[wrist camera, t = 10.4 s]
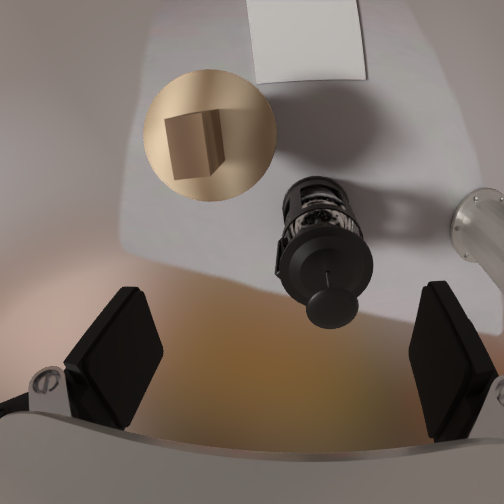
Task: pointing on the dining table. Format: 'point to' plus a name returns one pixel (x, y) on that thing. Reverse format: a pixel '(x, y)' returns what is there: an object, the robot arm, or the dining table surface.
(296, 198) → the french press
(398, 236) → the dining table surface
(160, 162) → the lid
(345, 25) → the mat
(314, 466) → the robot arm
